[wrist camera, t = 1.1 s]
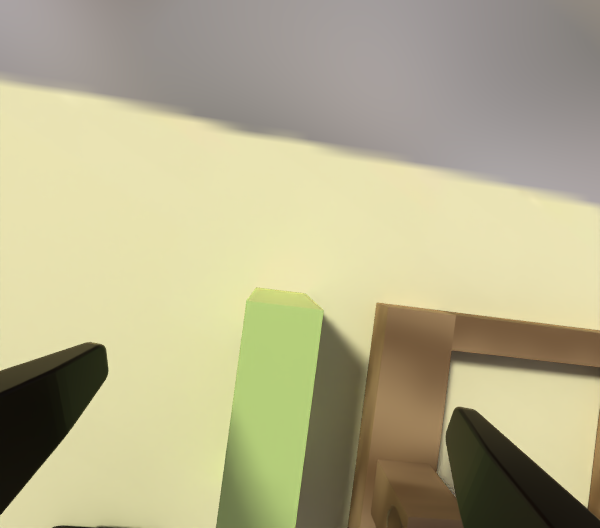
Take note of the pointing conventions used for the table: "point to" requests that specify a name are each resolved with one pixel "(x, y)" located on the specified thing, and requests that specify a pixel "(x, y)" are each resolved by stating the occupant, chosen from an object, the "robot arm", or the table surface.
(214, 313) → the table surface
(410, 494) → the wooden peg frame
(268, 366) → the green bridge block
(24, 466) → the robot arm
